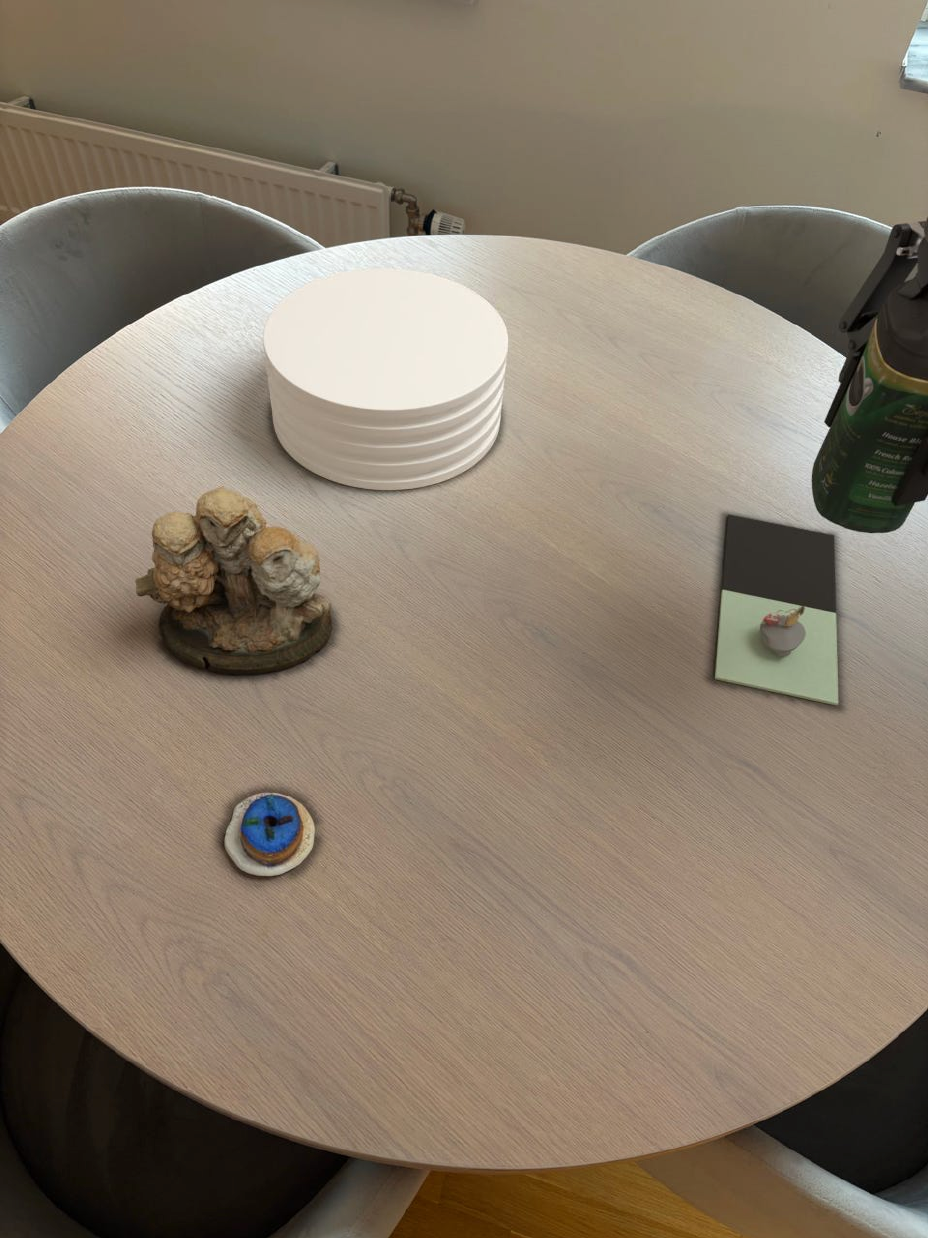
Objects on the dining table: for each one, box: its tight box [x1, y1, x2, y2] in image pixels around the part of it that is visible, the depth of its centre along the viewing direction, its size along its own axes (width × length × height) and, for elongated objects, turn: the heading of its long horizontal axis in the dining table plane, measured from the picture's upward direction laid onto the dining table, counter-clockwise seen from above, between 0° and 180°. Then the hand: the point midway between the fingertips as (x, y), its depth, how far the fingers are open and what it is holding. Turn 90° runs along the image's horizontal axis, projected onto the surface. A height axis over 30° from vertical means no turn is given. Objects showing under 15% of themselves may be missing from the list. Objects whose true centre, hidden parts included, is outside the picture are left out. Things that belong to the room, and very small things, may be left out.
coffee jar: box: [811, 278, 928, 534], centre depth 73 cm, size 10×8×19 cm
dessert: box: [223, 792, 316, 877], centre depth 80 cm, size 8×7×6 cm
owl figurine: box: [134, 485, 333, 675], centre depth 88 cm, size 18×12×17 cm, turn 94°
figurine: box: [760, 606, 806, 656], centre depth 95 cm, size 5×4×6 cm
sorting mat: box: [714, 513, 839, 706], centre depth 101 cm, size 24×12×1 cm, turn 167°
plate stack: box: [262, 267, 509, 491], centre depth 113 cm, size 28×28×12 cm
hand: (872, 459), depth 78 cm, fingers closed on coffee jar, 9 cm apart
